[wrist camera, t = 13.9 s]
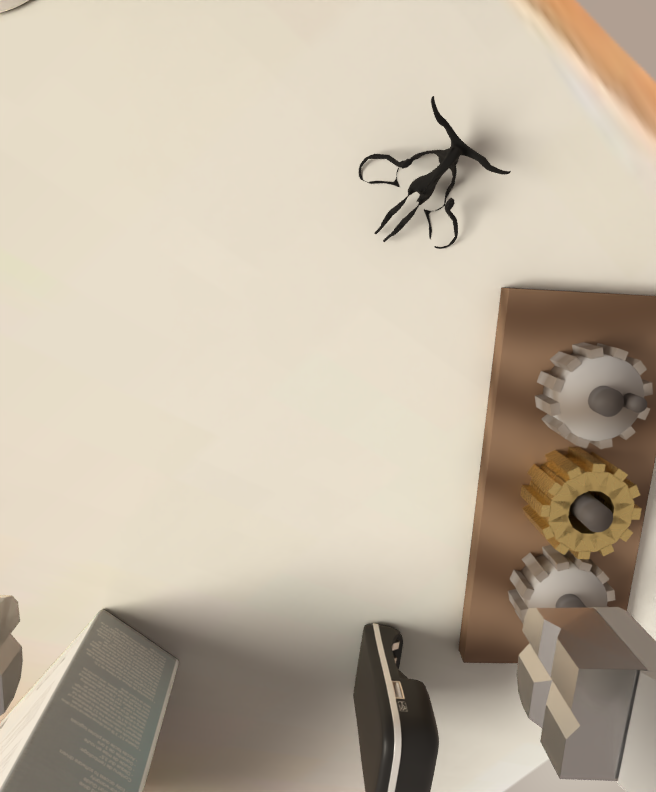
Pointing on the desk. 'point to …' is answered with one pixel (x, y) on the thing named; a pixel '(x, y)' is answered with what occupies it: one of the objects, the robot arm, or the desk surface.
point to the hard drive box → (90, 715)
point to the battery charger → (392, 718)
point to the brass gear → (561, 487)
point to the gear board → (558, 430)
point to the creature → (432, 176)
